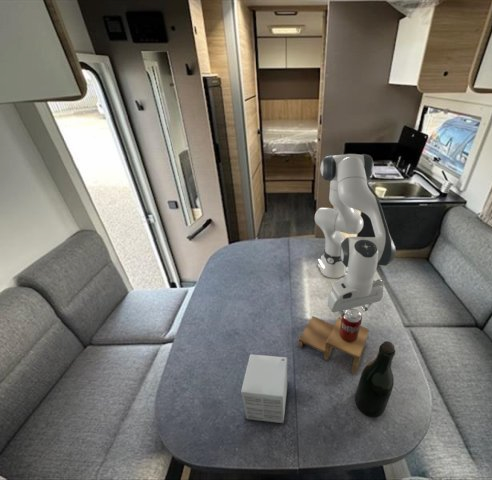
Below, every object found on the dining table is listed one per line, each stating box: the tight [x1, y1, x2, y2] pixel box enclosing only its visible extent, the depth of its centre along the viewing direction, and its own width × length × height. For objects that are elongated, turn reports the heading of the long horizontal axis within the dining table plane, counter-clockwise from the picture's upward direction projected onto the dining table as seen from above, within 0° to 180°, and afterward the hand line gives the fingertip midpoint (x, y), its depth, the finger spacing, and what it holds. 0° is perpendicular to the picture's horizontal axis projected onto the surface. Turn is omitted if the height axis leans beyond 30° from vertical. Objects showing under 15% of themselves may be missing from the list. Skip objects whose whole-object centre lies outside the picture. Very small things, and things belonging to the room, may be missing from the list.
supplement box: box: [240, 353, 289, 424], centre depth 89 cm, size 13×13×18 cm
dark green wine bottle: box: [354, 340, 396, 419], centre depth 84 cm, size 10×10×33 cm
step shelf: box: [298, 315, 370, 374], centre depth 109 cm, size 14×25×11 cm, turn 61°
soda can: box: [339, 308, 363, 342], centre depth 100 cm, size 7×7×12 cm
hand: (353, 312), depth 96 cm, fingers open, 8 cm apart
